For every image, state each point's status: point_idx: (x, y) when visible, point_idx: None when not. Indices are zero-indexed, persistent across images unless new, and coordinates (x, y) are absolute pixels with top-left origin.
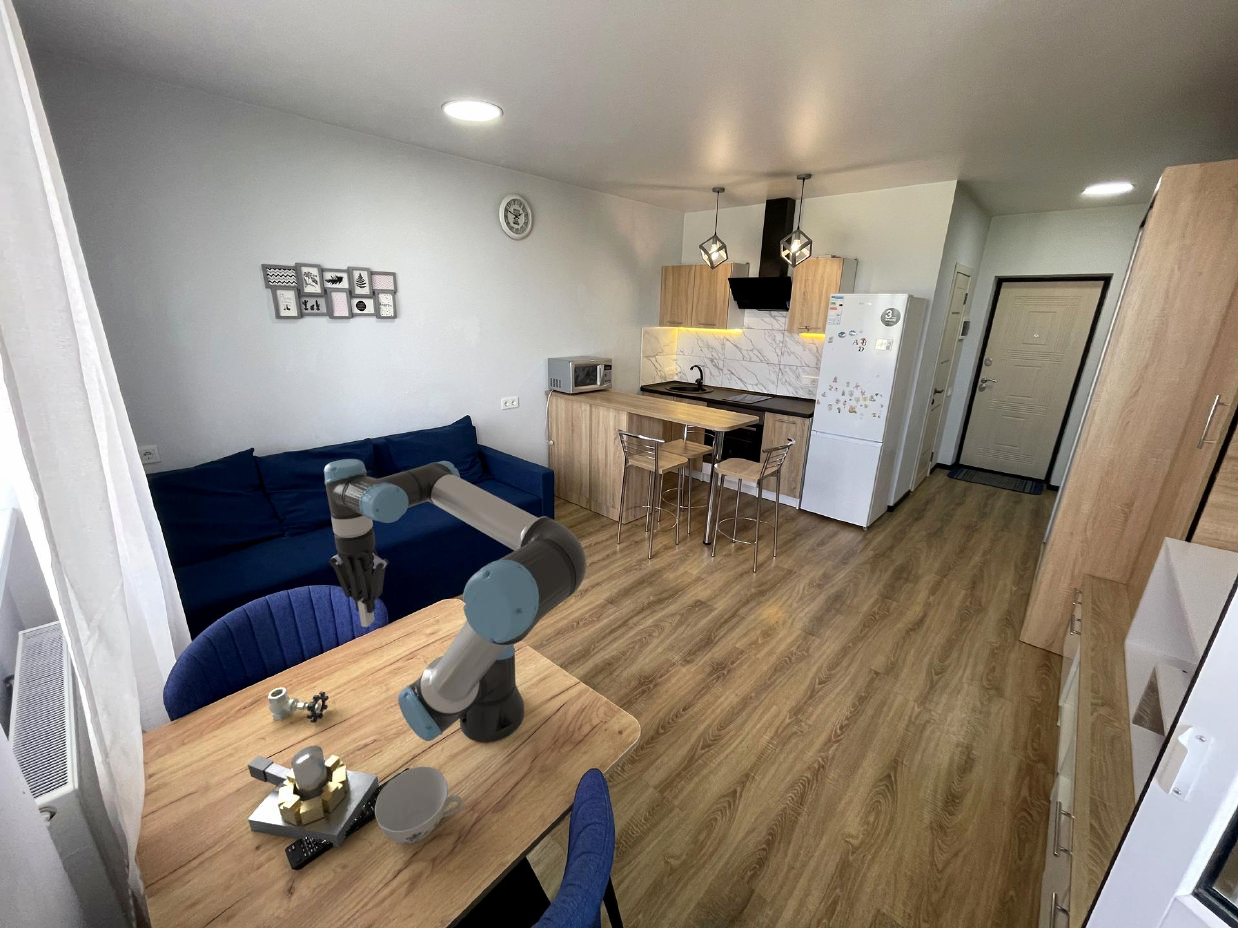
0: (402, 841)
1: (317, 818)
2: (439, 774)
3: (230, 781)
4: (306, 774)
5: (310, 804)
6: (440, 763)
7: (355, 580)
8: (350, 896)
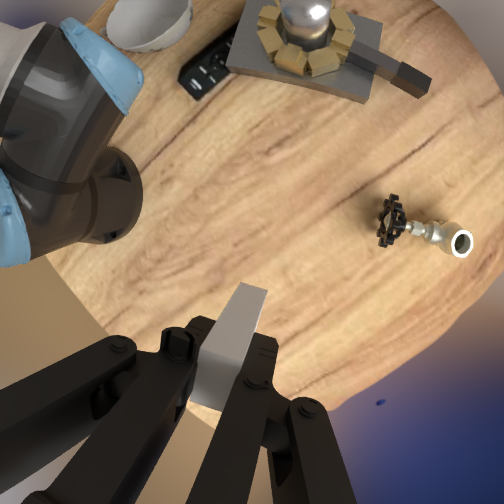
0: None
1: None
2: (117, 44)
3: (450, 111)
4: None
5: None
6: (154, 110)
7: (188, 500)
8: None
